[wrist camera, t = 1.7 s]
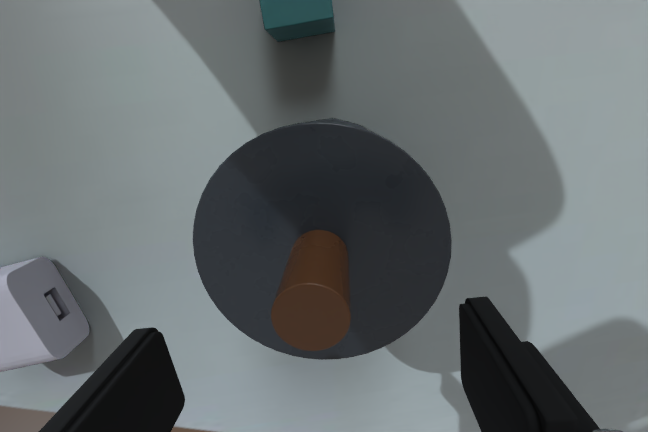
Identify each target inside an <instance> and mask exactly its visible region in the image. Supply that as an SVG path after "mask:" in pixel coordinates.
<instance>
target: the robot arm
mask: <svg viewBox="0 0 648 432" xmlns="http://www.w3.org/2000/svg"><path fill="white" fill-rule="evenodd" d="M459 317H460V354H461V380H462V385H463V388H464V391H465V393H466V396H467V398H468V400H469V403H470V405H471V408H472V410H473V412H474V415H475V417H476V420H477V422H478V424H479V427H480V429H481V431H482V432H622V431H619V430H611V429H600V428H599V427H598V426H597V425H596V423H595V422H594V421H593V419H592V418H591V417H590V416H589V414H588V413H587V412H586V411H585V409H584V408H583V407H582V405H581V404H580V403H579V402H578V400H577V399H576V398H575V397H574V395H573V394H572V393H571V392H570V390H569V389H568V388H567V386H566V385H565V384H564V383H563V381H562V380H561V379H560V378H559V376H558V375H557V374H556V373H555V371H554V370H553V369H552V367H551V366H550V365H549V364H548V362H547V361H546V360H545V359H544V357H543V356H542V355H541V353H540V352H539V351H538V350H537V348H536V347H535V346H534V345H533V344H532V343H530V342H528V341H525V342H521V341H520V340H519V338H518V337H517V336H516V334H515V333H514V332H513V330H512V329H511V328H510V326H509V325H508V324H507V322H506V321H505V320H504V318H503V317H502V316H501V314H500V313H499V312H498V310H497V309H496V308H495V306H494V305H493V304H492V302H491V301H490V299H489V298H488V297H477V298H467V299H466V301H465V304H460V306H459ZM184 402H185V397H184V394H183V391H182V388H181V385H180V382H179V379H178V377H177V374H176V371H175V368H174V365H173V362H172V360H171V357H170V354H169V351H168V348H167V345H166V343H165V340H164V337H163V335H162V333H161V332H158V330H157V329H156V328H143V329H136V330H134V331H133V332H132V333H131V334H130V335H129V336H128V337H127V338H126V339H125V340H124V341H123V342H122V343H121V344H120V345H119V347H118V348H117V349H116V350H115V351H114V352H113V353H112V354H111V355H110V356H109V357H108V358H107V359H106V360H105V362H104V363H103V364H102V365H101V366H100V367H99V368H98V369H97V370H96V371H95V372H94V373H93V374H92V375H91V376H90V378H89V379H88V380H87V381H86V382H85V383H84V384H83V385H82V386H81V387H80V388H79V389H78V390H77V391H76V392H75V394H74V395H73V396H72V397H71V398H70V399H69V400H68V401H67V402H66V403H65V404H64V405H63V406H62V407H61V409H60V410H59V411H58V412H57V413H56V414H55V415H54V416H53V417H52V418H51V420H49V421H48V422H47V423H46V425H45V426H44V427H43V428H42V429H41V430H40V431H39V432H171V430H172V428H173V426H174V424H175V422H176V421H177V419H178V417H179V415H180V413H181V411H182V409H183V407H184Z"/></svg>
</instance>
